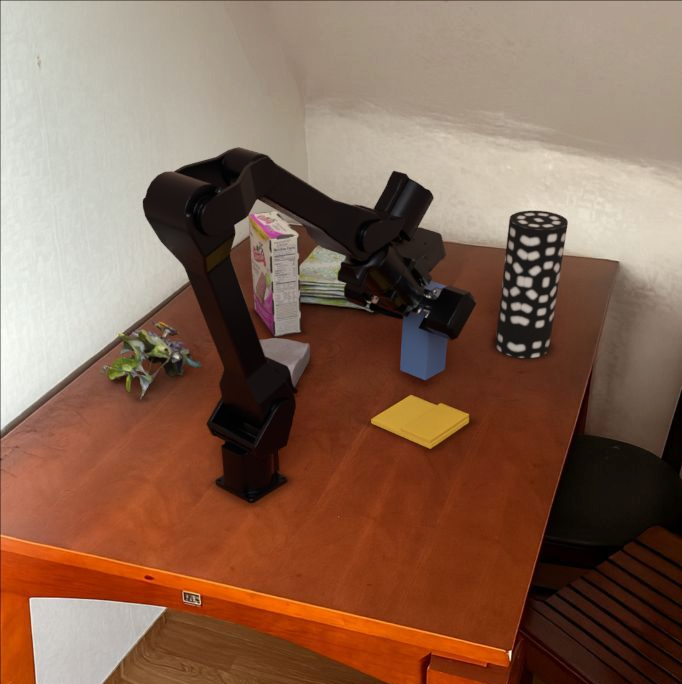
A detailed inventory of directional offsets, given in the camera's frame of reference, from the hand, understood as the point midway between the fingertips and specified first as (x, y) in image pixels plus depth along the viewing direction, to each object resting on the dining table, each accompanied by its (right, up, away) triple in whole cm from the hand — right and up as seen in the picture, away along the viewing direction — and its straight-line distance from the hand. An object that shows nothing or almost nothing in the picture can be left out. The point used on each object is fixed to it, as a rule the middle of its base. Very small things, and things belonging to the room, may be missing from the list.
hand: (431, 324), depth 132 cm
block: (-1, -6, +3) cm, 7 cm away
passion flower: (-40, -9, +4) cm, 41 cm away
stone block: (-23, -6, +7) cm, 25 cm away
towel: (-11, +13, +34) cm, 38 cm away
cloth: (-2, -14, -4) cm, 15 cm away
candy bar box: (-23, +5, +22) cm, 33 cm away
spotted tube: (+16, 0, +16) cm, 22 cm away
